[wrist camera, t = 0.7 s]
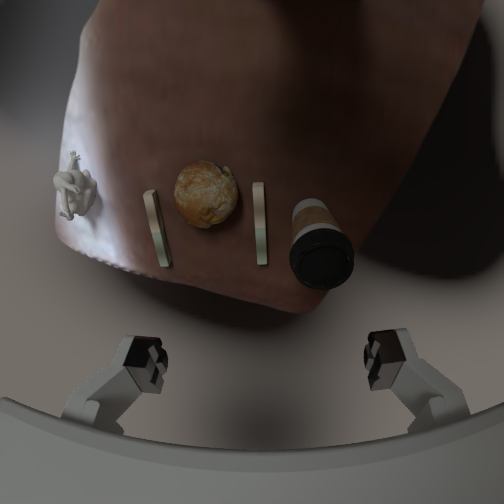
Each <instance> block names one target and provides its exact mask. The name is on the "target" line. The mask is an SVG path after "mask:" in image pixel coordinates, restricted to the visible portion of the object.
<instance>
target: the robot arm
mask: <svg viewBox="0 0 504 504" xmlns="http://www.w3.org/2000/svg"><path fill="white" fill-rule="evenodd" d="M368 342H369V343H368V344H367V345H366V346H365V349H364V364H365V368H366V369H367V370H368V371H369V375H368V381H369V385H370V390H371V391H373V390H382V389H388V388H391V389H390V390H391V391H392V392H393V393H394V394H395V395H396V396H397V397H398V398H399V399H400V400H401V402H402V403H403V404H404V405H405V406H406V407H407V408H408V409H409V410H410V411H411V412H412V413H413V415H414V416H415V417H416V418H415V420H414V421H413V422H412V424H411V425H410V426H409V427H408V433H407V434H402V435H398V436H393V437H388V438H383V439H377V440H372V441H366V442H359V443H352V444H345V445H336V446H327V447H316V448H301V449H275V450H250V449H249V450H247V449H223V448H209V447H197V446H188V445H179V444H171V443H165V442H158V441H152V440H146V439H140V438H135V437H130V436H126V435H123V434H124V430H123V428H122V427H121V426H120V425H119V424H118V423H117V422H116V420H117V419H118V418H119V417H120V416H121V415H122V414H123V413H124V412H125V411H126V410H127V409H128V408H129V407H130V405H131V404H132V403H133V402H134V401H135V400H136V399H137V398H138V397H139V396H140V395H141V394H142V392H145V393H156V394H160V393H161V390H162V386H163V382H164V380H163V378H162V375H163V374H165V373H166V371H167V367H168V356H167V353H166V351H165V350H164V349H163V348H162V347H161V346H162V341H161V339H160V338H157V337H145V336H132V335H125V336H124V337H123V338H122V340H121V343H120V345H119V347H118V350H117V352H116V354H115V357H114V359H113V362H112V364H111V365H107V366H106V367H104V368H103V369H102V370H101V371H99V372H98V373H97V374H96V375H94V376H93V377H92V378H90V379H89V380H88V381H87V382H85V383H84V384H83V385H81V386H80V387H79V388H78V389H76V390H75V391H74V392H73V393H71V394H70V396H69V399H68V401H67V403H66V406H65V408H64V411H63V413H62V416H61V418H59V417H56V416H53V415H50V414H47V413H45V412H42V411H39V410H37V409H34V408H31V407H29V406H26V405H24V404H21V403H19V402H17V401H15V400H12V399H10V398H6V397H2V398H0V504H504V402H503V403H500V404H498V405H496V406H493V407H491V408H488V409H486V410H483V411H480V412H478V413H475V414H472V415H471V414H470V411H469V408H468V405H467V403H466V400H465V397H464V394H463V392H462V389H460V388H459V387H458V386H457V385H455V384H454V383H453V382H452V381H450V380H449V379H448V378H446V377H445V376H444V375H443V374H441V373H440V372H439V371H438V370H436V369H435V368H434V367H433V366H431V365H430V364H429V363H427V362H426V361H425V360H423V359H419V357H418V354H417V352H416V350H415V347H414V345H413V342H412V340H411V337H410V335H409V332H408V330H407V329H406V328H401V329H394V330H393V329H391V330H383V331H376V332H370V333H369V335H368Z"/></svg>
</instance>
